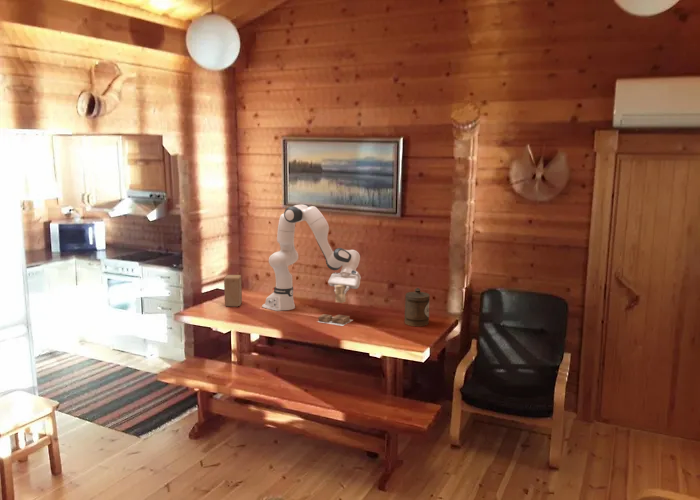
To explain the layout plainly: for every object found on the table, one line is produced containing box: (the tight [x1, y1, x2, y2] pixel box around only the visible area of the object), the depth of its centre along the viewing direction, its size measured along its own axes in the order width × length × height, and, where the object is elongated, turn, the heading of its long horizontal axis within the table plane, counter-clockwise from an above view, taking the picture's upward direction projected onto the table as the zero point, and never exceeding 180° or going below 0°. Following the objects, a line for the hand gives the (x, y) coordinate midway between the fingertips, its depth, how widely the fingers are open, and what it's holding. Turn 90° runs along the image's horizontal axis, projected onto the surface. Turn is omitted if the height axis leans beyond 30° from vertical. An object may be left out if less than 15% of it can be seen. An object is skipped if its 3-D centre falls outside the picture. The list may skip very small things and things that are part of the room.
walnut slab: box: [332, 314, 351, 325], centre depth 363 cm, size 8×8×3 cm
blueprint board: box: [316, 319, 354, 327], centre depth 365 cm, size 18×14×1 cm
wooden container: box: [404, 287, 431, 327], centre depth 364 cm, size 15×15×22 cm
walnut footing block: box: [318, 313, 333, 323], centre depth 365 cm, size 6×6×3 cm
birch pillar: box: [334, 285, 347, 304], centre depth 362 cm, size 4×4×10 cm
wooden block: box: [223, 274, 243, 308], centre depth 402 cm, size 10×10×20 cm
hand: (339, 292), depth 361 cm, fingers closed on birch pillar, 4 cm apart
